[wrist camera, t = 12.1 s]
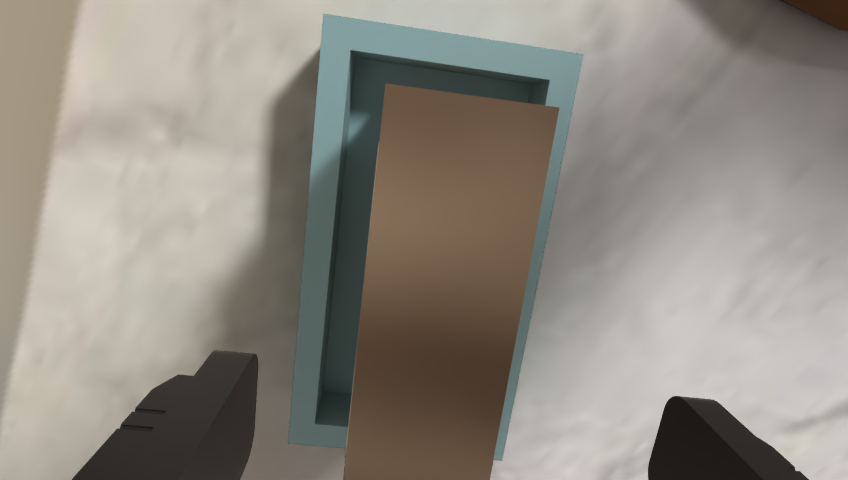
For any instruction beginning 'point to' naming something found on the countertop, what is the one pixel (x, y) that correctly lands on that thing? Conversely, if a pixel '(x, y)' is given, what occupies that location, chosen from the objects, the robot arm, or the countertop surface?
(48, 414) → the countertop surface
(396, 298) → the picture frame
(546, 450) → the countertop surface
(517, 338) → the light blue rectangular tray
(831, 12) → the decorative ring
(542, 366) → the countertop surface
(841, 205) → the countertop surface
